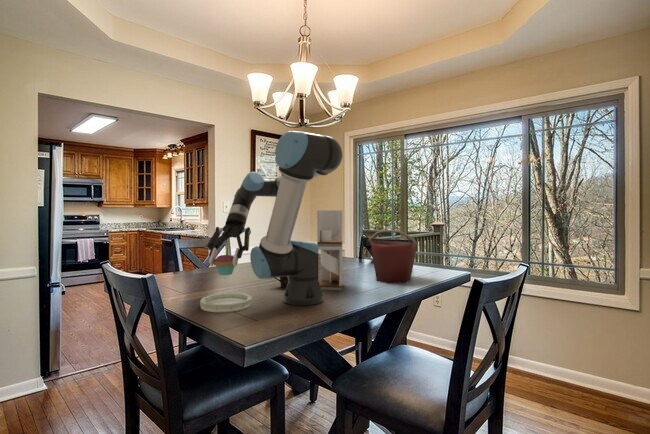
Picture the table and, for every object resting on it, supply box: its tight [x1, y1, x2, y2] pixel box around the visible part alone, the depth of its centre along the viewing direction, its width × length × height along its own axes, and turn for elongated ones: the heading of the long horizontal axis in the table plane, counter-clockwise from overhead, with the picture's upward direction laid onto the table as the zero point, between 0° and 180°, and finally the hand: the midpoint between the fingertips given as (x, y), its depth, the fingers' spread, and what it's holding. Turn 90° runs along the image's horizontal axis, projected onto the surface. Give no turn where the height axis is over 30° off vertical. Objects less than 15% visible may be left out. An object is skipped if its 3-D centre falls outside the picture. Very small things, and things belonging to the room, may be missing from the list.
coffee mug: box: [274, 276, 288, 289], centre depth 162 cm, size 12×9×10 cm
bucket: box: [368, 229, 418, 284], centre depth 178 cm, size 24×22×25 cm
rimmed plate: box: [199, 292, 252, 313], centre depth 130 cm, size 18×18×2 cm
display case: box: [316, 209, 343, 291], centre depth 161 cm, size 11×11×35 cm
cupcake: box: [213, 242, 239, 276], centre depth 130 cm, size 9×8×12 cm
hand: (222, 264), depth 127 cm, fingers closed on cupcake, 8 cm apart
